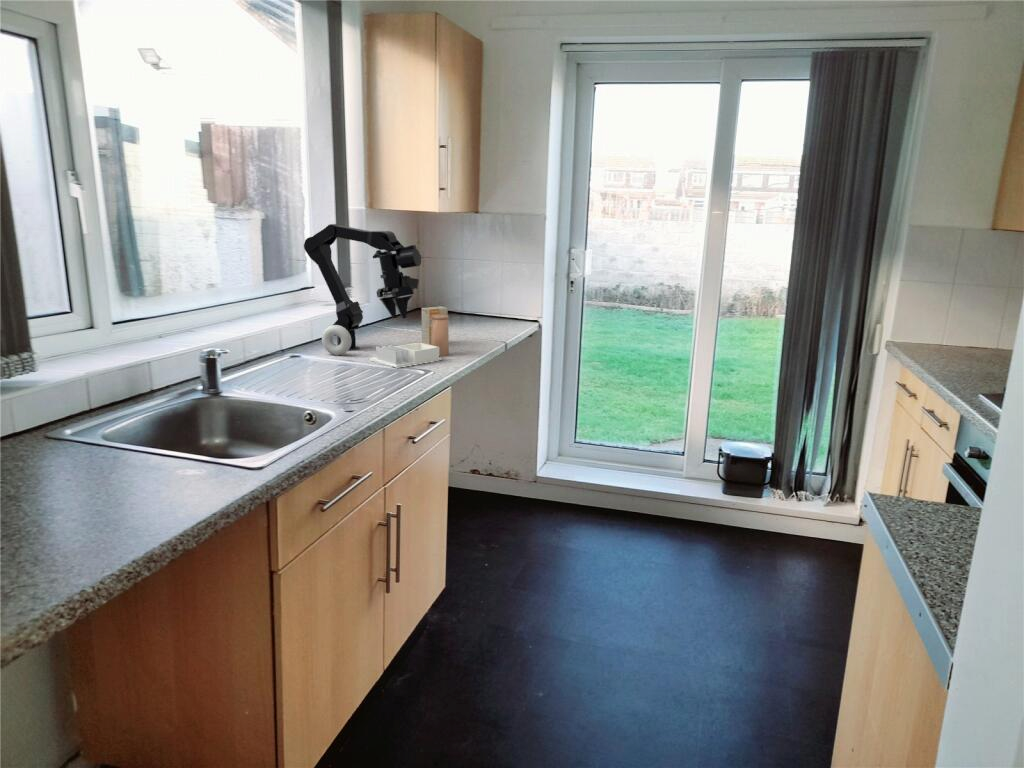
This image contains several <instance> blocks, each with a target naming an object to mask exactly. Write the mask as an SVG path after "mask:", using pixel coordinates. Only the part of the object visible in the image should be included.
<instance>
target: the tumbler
mask: <svg viewBox="0 0 1024 768" xmlns="http://www.w3.org/2000/svg"><path fill="white" fill-rule="evenodd" d="M449 317H450V316H449V315H432V316H431V328H432V345H433V346H437V347H439V356H444V357H448V356H449V355H450V353H449V352H450V347H449V345H450V341H449V339H450V337H449V336H450V335H449V332H450V331H449V329H450V327H449V325H450V324H449V322H450V321H449V319H450V318H449Z"/></svg>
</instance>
